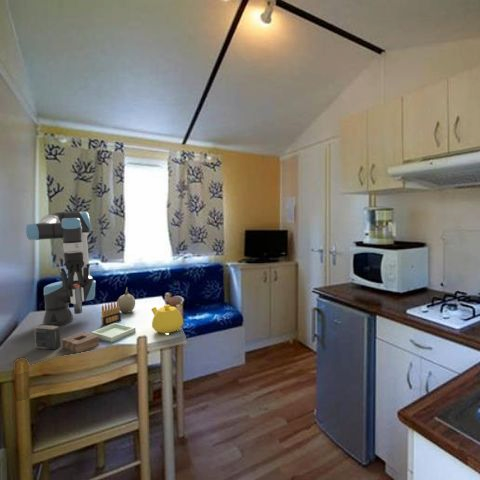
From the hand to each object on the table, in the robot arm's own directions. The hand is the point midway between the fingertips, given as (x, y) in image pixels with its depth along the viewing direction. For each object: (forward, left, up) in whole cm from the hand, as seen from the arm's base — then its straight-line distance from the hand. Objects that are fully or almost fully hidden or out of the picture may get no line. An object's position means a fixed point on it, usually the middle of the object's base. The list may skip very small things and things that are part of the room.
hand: (77, 301), depth 133 cm
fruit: (-22, +43, -21) cm, 53 cm away
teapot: (+23, +32, -21) cm, 44 cm away
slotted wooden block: (0, 0, -21) cm, 21 cm away
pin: (0, 0, -5) cm, 5 cm away
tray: (+2, +16, -21) cm, 27 cm away
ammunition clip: (-14, +26, -21) cm, 36 cm away
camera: (-13, -8, -21) cm, 26 cm away
